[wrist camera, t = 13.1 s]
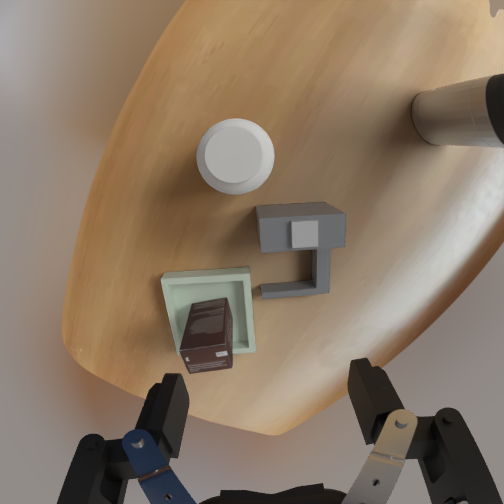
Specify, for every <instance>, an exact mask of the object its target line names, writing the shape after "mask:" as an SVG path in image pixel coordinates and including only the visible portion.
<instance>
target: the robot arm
mask: <svg viewBox="0 0 504 504" xmlns="http://www.w3.org/2000/svg"><path fill="white" fill-rule="evenodd" d="M412 119H413V123H414V126H415V128H416V130H417V132H418V133H419V134H420V136H421V137H422V138H423V139H424V140H425V141H427V142H428V143H431V144H434V145H458V146H481V147H497V148H504V74H499V75H493V76H488V77H483V78H479V79H474V80H469V81H465V82H461V83H456V84H452V85H448V86H444V87H440V88H436V89H432V90H429V91H425V92H422V93H420V94H419V95H417V96H416V98H415V99H414V101H413V104H412ZM348 393H349V396H350V399H351V402H352V405H353V408H354V410H355V413H356V416H357V419H358V422H359V425H360V428H361V431H362V434H363V436H364V440H365V442H366V445H368V444H372V443H374V448H373V450H372V452H371V453H370V454H369V456H368V458H367V460H366V462H365V464H364V466H363V468H362V469H361V471H360V473H359V475H358V477H357V478H356V480H355V482H354V483H353V485H352V487H351V488H350V490H349V492H348V493H347V494H346V493H344V492H341V491H338V490H334V489H324V486H323V483H321V484H314V485H307V486H300V487H295V488H292V489H289V490H286V491H283V492H279V493H275V494H265V493H259V492H253V491H247V490H221V493H220V496H216V497H213V498H210V499H207V500H205V501H203V502H201V503H199V504H386V503H387V501H388V499H389V497H390V495H391V493H392V490H393V489H394V486H395V484H396V482H397V480H398V477H399V475H400V473H401V471H402V468H403V466H404V463H405V459H418V462H419V465H420V467H421V471H422V474H423V477H424V480H425V483H426V486H427V489H428V493H429V496H430V499H431V502H432V504H503V503H502V500H501V498H500V495H499V493H498V490H497V488H496V485H495V483H494V481H493V478H492V476H491V474H490V472H489V469H488V467H487V465H486V463H485V461H484V458H483V456H482V454H481V452H480V450H479V448H478V446H477V444H476V442H475V440H474V438H473V436H472V434H471V432H470V431H469V428H468V427H467V425H466V423H465V421H464V419H463V417H462V416H461V414H460V413H459V411H457V410H456V409H453V408H443V409H441V410H439V411H438V412H437V414H436V415H435V416H430V417H417V416H415V415H414V413H412V412H410V411H409V410H405V409H404V407H403V405H402V402H401V400H400V399H399V397H398V395H397V393H396V391H395V389H394V387H393V385H392V384H391V382H390V381H389V378H388V376H387V374H386V372H385V371H384V370H383V369H381V368H380V367H379V366H375V367H372V366H371V364H370V362H369V360H368V359H367V358H361V359H356V360H352V361H351V363H350V370H349V377H348ZM188 409H189V395H188V392H187V389H186V386H185V383H184V380H183V377H182V374H180V373H166V374H165V375H164V377H163V380H162V383H155V384H154V386H153V387H152V388H151V389H150V390H149V392H148V395H147V397H146V400H145V403H144V406H143V408H142V411H141V413H140V416H139V419H138V421H137V424H136V427H135V429H134V430H131V431H129V432H128V433H127V434H125V435H124V437H123V438H122V439H115V440H104V438H103V437H102V436H100V435H98V434H89V435H86V436H84V437H83V438H82V439H81V440H80V442H79V444H78V447H77V449H76V452H75V455H74V457H73V460H72V462H71V465H70V468H69V470H68V473H67V476H66V479H65V481H64V484H63V487H62V490H61V493H60V496H59V498H58V502H57V504H123V502H124V497H125V493H126V488H127V484H128V479H136V478H138V482H139V484H140V486H141V488H142V489H143V491H144V493H145V495H146V497H147V498H148V500H149V502H150V504H197V503H196V502H195V501H194V500H193V498H192V497H191V495H190V494H189V493H188V491H187V490H186V489H185V487H184V486H183V485H182V483H181V482H180V480H179V479H178V477H177V476H176V475H175V473H174V472H173V470H172V469H171V467H170V466H169V461H170V458H178V456H179V451H180V446H181V441H182V436H183V431H184V427H185V422H186V418H187V413H188Z"/></svg>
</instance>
